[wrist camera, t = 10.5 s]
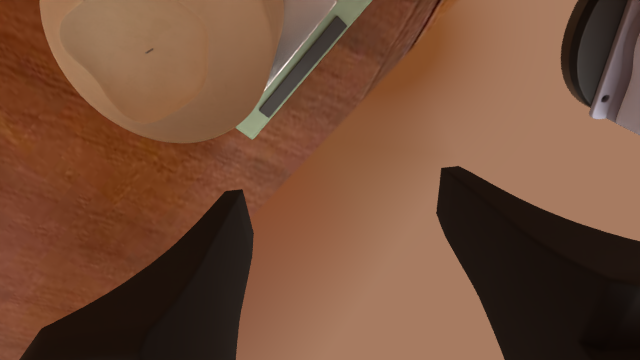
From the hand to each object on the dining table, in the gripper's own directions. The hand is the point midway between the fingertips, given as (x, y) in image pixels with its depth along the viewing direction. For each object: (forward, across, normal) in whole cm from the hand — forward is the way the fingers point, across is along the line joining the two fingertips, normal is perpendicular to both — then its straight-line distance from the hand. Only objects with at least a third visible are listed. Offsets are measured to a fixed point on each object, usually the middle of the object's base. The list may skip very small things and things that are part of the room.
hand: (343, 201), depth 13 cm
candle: (+8, +4, -6) cm, 11 cm away
